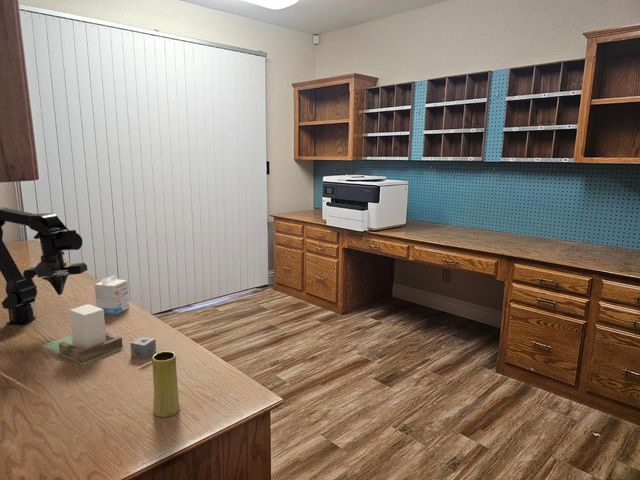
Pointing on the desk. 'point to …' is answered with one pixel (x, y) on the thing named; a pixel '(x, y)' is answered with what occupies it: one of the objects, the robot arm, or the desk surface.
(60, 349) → the wooden tray
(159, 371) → the vase
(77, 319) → the cream block
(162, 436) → the desk surface
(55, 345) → the putting strip
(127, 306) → the ink box
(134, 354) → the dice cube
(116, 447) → the desk surface
